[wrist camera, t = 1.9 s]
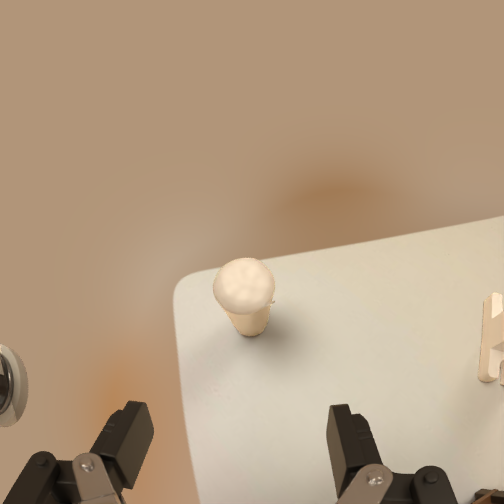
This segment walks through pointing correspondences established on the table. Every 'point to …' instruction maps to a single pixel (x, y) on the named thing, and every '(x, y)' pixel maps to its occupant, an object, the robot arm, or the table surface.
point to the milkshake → (245, 294)
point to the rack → (489, 497)
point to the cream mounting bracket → (492, 340)
